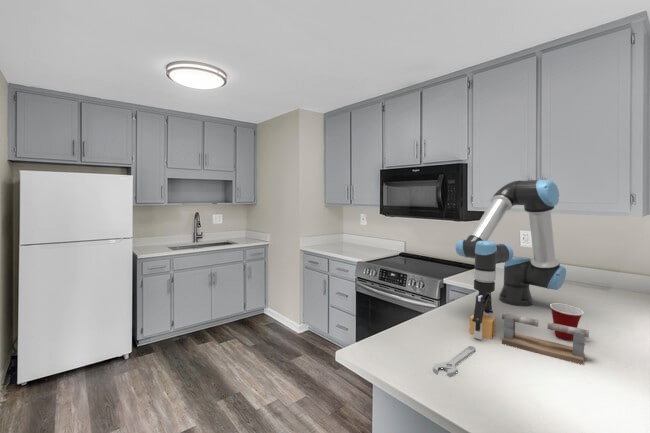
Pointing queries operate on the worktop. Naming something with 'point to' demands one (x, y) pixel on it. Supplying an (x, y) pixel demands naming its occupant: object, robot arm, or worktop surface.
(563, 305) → the plastic cup
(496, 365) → the worktop surface
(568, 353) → the frame
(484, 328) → the block
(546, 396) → the worktop surface
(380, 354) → the worktop surface
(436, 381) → the worktop surface
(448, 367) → the adjustable wrench
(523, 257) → the robot arm
